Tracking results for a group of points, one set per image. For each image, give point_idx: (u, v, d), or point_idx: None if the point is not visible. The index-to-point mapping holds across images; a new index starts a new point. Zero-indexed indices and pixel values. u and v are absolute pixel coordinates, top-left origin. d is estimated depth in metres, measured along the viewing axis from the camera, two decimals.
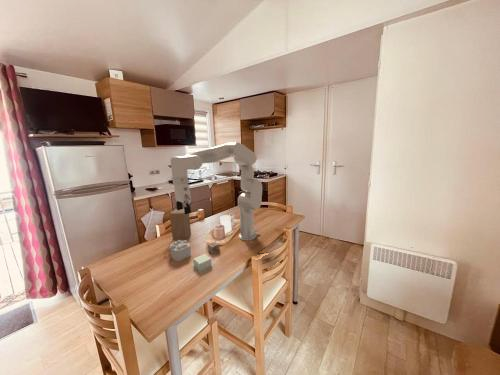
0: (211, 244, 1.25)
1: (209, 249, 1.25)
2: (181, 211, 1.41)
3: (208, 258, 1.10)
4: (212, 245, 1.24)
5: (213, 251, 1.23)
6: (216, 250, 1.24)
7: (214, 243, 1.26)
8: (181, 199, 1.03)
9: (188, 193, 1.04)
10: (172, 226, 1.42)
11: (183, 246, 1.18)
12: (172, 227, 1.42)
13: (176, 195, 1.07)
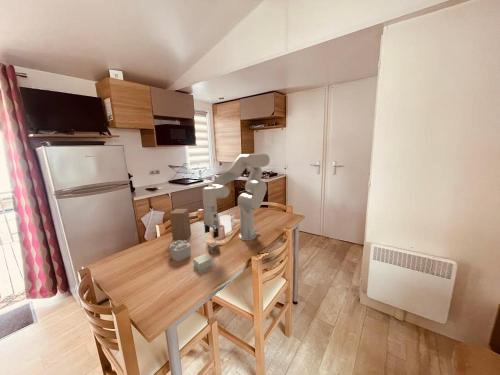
0: (211, 244, 1.25)
1: (209, 249, 1.25)
2: (181, 211, 1.41)
3: (208, 258, 1.10)
4: (212, 245, 1.24)
5: (213, 251, 1.23)
6: (216, 250, 1.24)
7: (214, 243, 1.26)
8: (211, 225, 1.18)
9: (217, 219, 1.18)
10: (172, 226, 1.42)
11: (183, 246, 1.18)
12: (172, 227, 1.42)
13: (206, 220, 1.21)
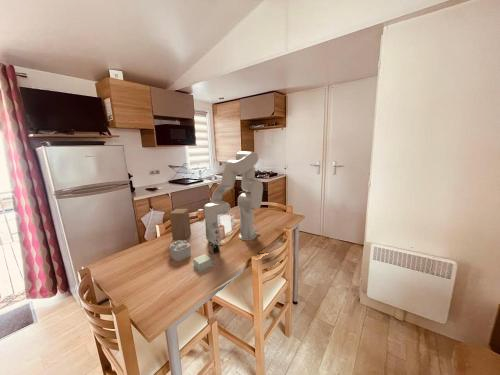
0: (211, 244, 1.25)
1: (209, 249, 1.25)
2: (181, 211, 1.41)
3: (208, 258, 1.10)
4: (212, 245, 1.24)
5: (213, 251, 1.23)
6: None
7: None
8: (213, 240, 1.20)
9: (218, 235, 1.21)
10: (172, 226, 1.42)
11: (183, 246, 1.18)
12: (172, 227, 1.42)
13: (207, 236, 1.23)
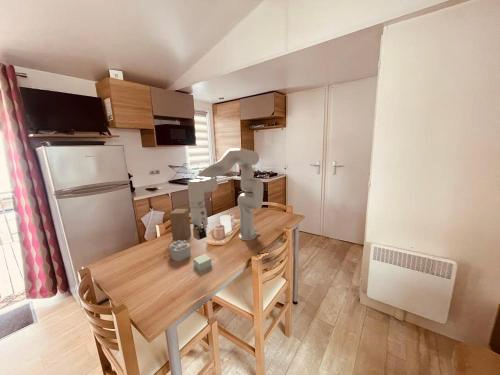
0: (196, 228, 1.07)
1: (194, 234, 1.06)
2: (181, 211, 1.41)
3: (208, 258, 1.10)
4: (197, 229, 1.05)
5: (198, 236, 1.04)
6: None
7: None
8: (198, 223, 1.02)
9: (205, 217, 1.02)
10: (172, 226, 1.42)
11: (183, 246, 1.18)
12: (172, 227, 1.42)
13: (192, 218, 1.05)
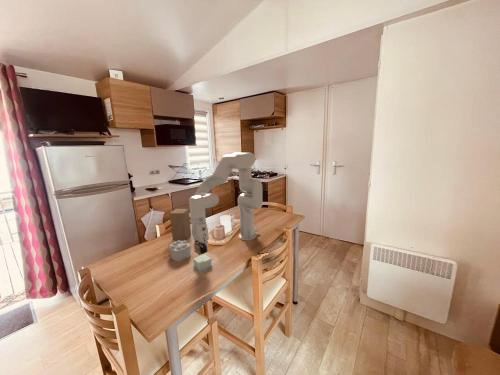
0: (197, 243, 1.08)
1: (195, 249, 1.08)
2: (181, 211, 1.41)
3: (208, 258, 1.10)
4: (198, 244, 1.07)
5: (199, 251, 1.06)
6: None
7: None
8: (199, 239, 1.03)
9: (206, 232, 1.04)
10: (172, 226, 1.42)
11: (183, 246, 1.18)
12: (172, 227, 1.42)
13: (194, 233, 1.06)
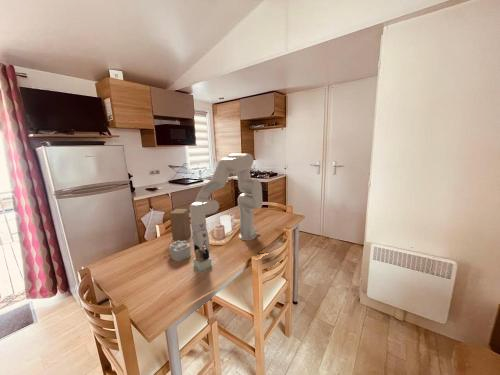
0: (199, 250, 1.09)
1: (196, 256, 1.09)
2: (181, 211, 1.41)
3: None
4: (200, 251, 1.08)
5: (201, 258, 1.07)
6: None
7: None
8: (200, 245, 1.04)
9: (207, 239, 1.05)
10: (172, 226, 1.42)
11: (183, 246, 1.18)
12: (172, 227, 1.42)
13: (194, 240, 1.07)
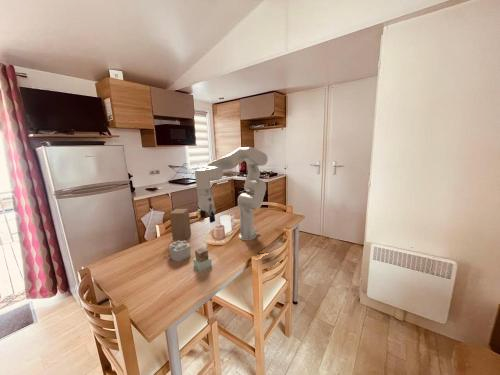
0: (199, 250, 1.09)
1: (196, 256, 1.09)
2: (181, 211, 1.41)
3: None
4: (200, 251, 1.08)
5: (201, 258, 1.07)
6: (204, 257, 1.08)
7: (202, 249, 1.10)
8: (206, 209, 1.11)
9: (212, 203, 1.11)
10: (172, 226, 1.42)
11: (183, 246, 1.18)
12: (172, 227, 1.42)
13: (200, 205, 1.14)
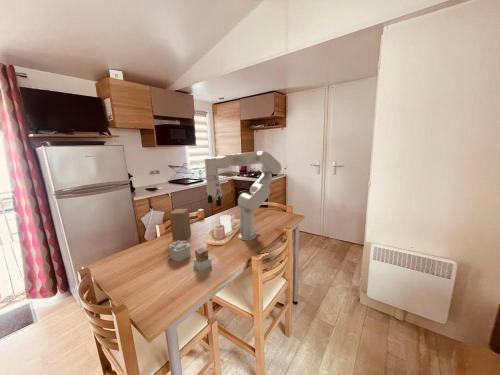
0: (199, 250, 1.09)
1: (196, 256, 1.09)
2: (181, 211, 1.41)
3: None
4: (200, 251, 1.08)
5: (201, 258, 1.07)
6: (204, 257, 1.08)
7: (202, 249, 1.10)
8: (213, 193, 1.22)
9: (219, 188, 1.23)
10: (172, 226, 1.42)
11: (183, 246, 1.18)
12: (172, 227, 1.42)
13: (208, 190, 1.25)
